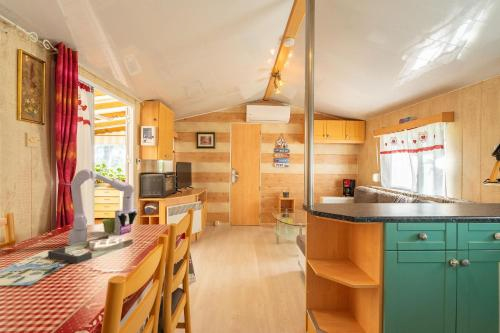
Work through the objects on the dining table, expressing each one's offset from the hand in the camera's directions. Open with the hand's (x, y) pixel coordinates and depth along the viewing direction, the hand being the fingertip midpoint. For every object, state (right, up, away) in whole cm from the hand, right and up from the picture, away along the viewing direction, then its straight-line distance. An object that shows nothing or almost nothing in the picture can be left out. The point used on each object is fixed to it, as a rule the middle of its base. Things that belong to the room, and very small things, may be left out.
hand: (127, 225), depth 166 cm
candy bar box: (-10, -9, +16) cm, 21 cm away
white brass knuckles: (-5, -10, -14) cm, 18 cm away
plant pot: (-21, -9, +18) cm, 28 cm away
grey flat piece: (-7, -9, -17) cm, 21 cm away
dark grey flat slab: (-13, -9, -34) cm, 37 cm away
